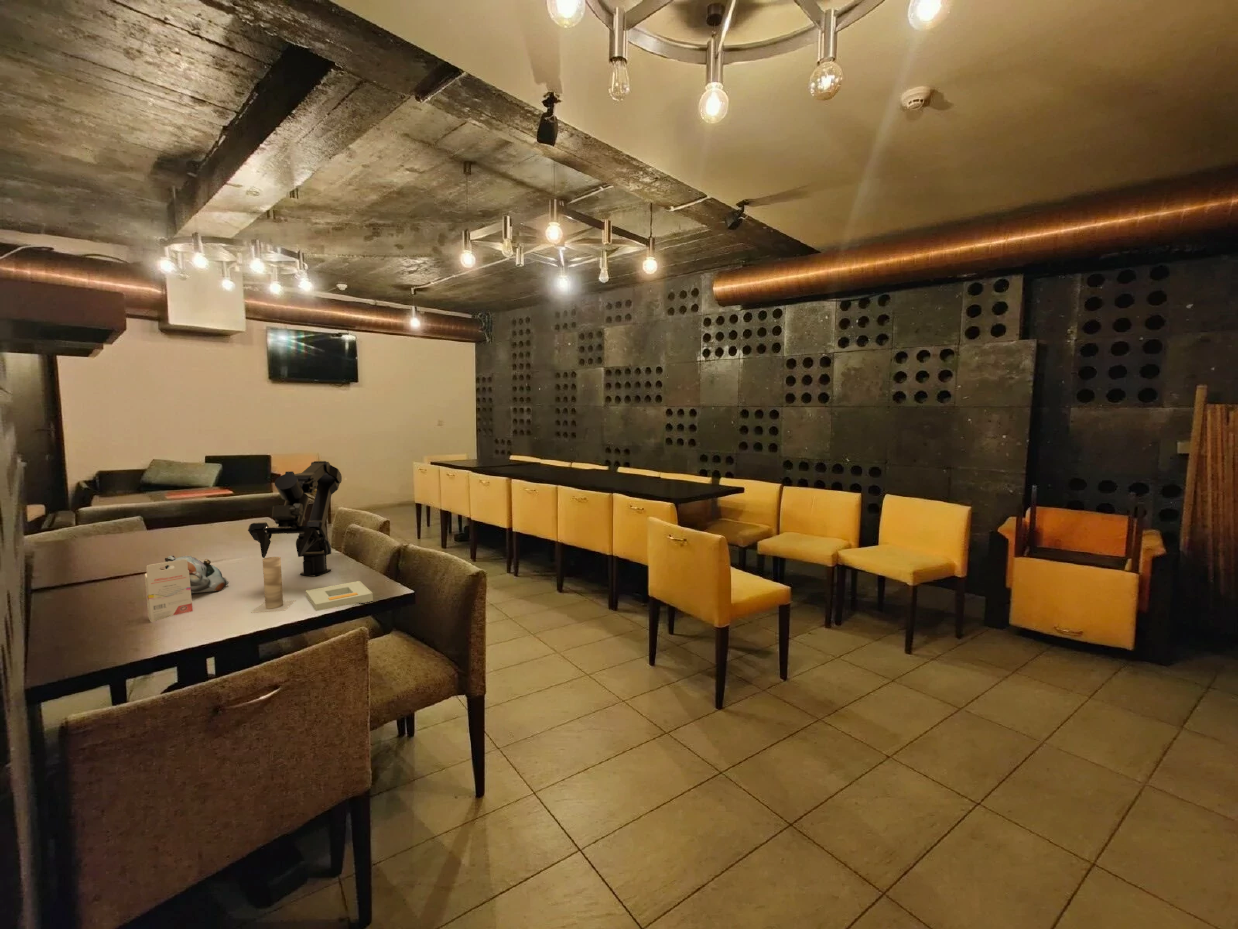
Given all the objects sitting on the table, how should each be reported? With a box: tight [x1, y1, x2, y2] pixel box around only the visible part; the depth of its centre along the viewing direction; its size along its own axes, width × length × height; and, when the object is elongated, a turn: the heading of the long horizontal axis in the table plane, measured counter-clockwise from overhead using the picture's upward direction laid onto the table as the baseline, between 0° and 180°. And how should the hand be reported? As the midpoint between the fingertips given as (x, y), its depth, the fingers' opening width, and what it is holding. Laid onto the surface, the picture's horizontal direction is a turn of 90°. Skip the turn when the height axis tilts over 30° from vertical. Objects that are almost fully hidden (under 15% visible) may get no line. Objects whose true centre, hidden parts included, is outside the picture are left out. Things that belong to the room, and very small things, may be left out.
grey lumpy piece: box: [164, 555, 230, 594], centre depth 156 cm, size 15×12×14 cm
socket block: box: [305, 580, 374, 612], centre depth 150 cm, size 14×14×3 cm
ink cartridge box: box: [144, 559, 194, 623], centre depth 138 cm, size 9×5×15 cm, turn 136°
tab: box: [250, 599, 297, 614], centre depth 144 cm, size 8×8×1 cm
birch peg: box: [262, 556, 284, 609], centre depth 143 cm, size 4×4×13 cm
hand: (281, 556), depth 149 cm, fingers open, 9 cm apart
